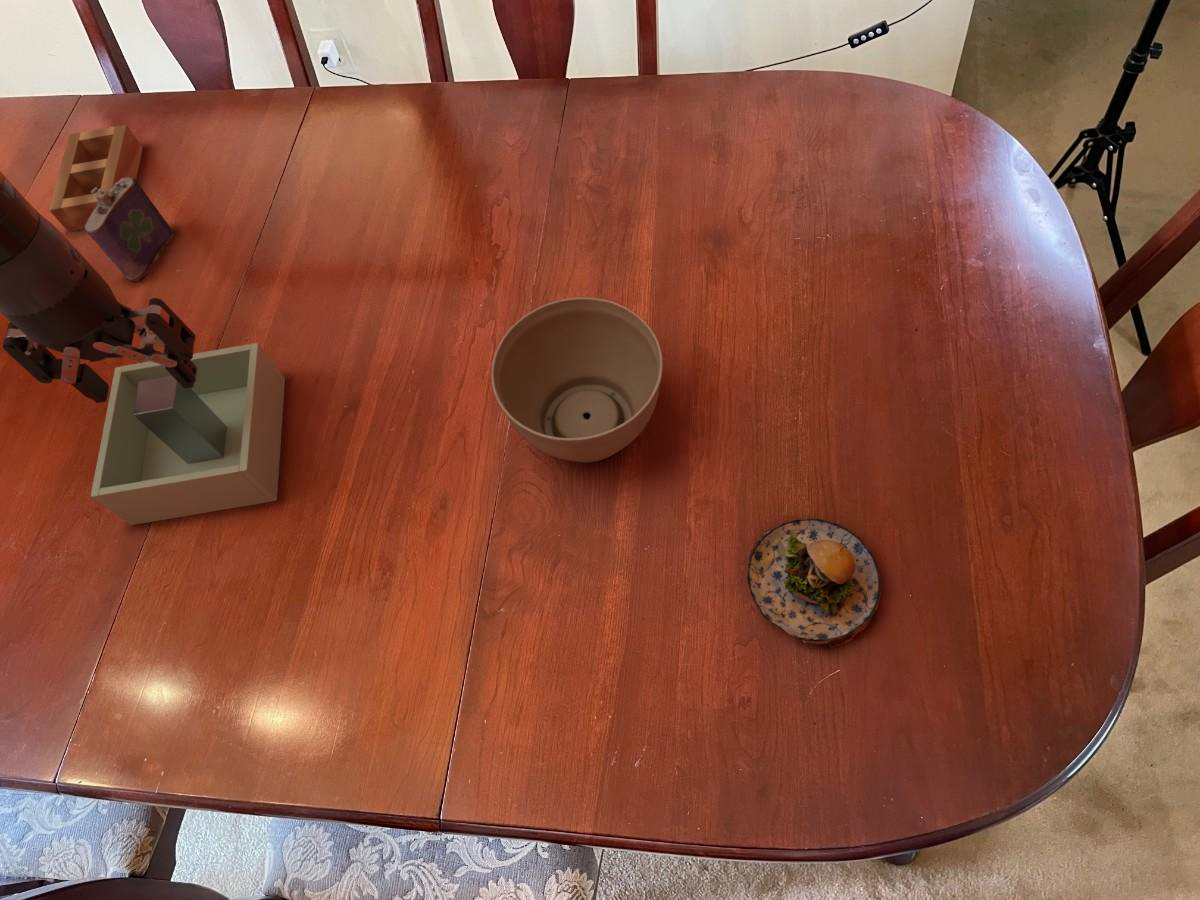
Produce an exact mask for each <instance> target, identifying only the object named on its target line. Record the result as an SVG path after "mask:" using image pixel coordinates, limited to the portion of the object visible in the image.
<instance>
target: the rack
mask: <svg viewBox="0 0 1200 900" xmlns="http://www.w3.org/2000/svg"><path fill="white" fill-rule="evenodd" d="M143 148H144V147H143V145H142V144H141V142H139V140H138V139H137V137H136V136H135V134H134V133H133V132H132V130H131V129H130V127H129V126H128V125H127V123H125V124H121V125H115V126H109V127H103V128H98V129H92V130H87V131H82V132H75V133H69V134H68V137H67V142H66V144H65V148H64V152H63V156H62V159H61V163H60V167H59V171H58V175H57V178H56V181H55V185H54V190H53V193H52V197H51V200H50V204H49V208H48V211H49V212H50V213H51V214H52V215H53V216H54V217H55V219H56V220H57V221H58V222H59V223H60V224H61V225H62V226H63V227H64V229H65V230H66V231H67V232H68V233H72V232H78V231H83V230H85V225H86V223H87V221H88V219H89V218H90V216H91V214H92V212H93V211H94V209H95V208H96V206H97V204H98V203H97V198H96V197H95V196H94V195H95V193H96V192H97V191H98V190H99V189H100V188H101V190H102V191H104V192H106V191H109V190H110V189H111V188H113V186H114V184H115V183H116V182H118V181H119V180H120V179H122V178H128V177H129V178H134V179H136V180H137V179H138V178H137V177H138V174H139V170H140V169H139V168H140V164H141V158H142V155H143V154H142V153H143ZM94 188H98V189H97V190H96V191H95V193H91V191H92V190H93V189H94ZM90 195H92V197H90Z"/></svg>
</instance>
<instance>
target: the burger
mask: <svg viewBox="0 0 1200 900" xmlns="http://www.w3.org/2000/svg"><path fill="white" fill-rule="evenodd" d="M746 577H747V578H746V579H747V583H748V588H749V592H750V595H751V596H752V598H753V601H754V602H755V604H756V606H757V608H758V610H759V612H760V613H761V615H762V616H763V617H764V619H766V620H767V621H769V622H770V623H772V624H773V625H775V626H776V627H777V628H779V629H781V630H782V631H783V632H785V633H786V634H787V635H789V636H790V637H793V638H796V639H799V640H800V641H802V642H803V643H804V644H805V643H806V644H810V645H826V644H827V645H829V647H830V648H833V649H834V648H836V647H839V646H841V645H843V644H847V643H850V642H851V641H852V640H853V638H854V637H855V636H856V635H857V634H858V633H860V632H861V631H864V630H865V629H866V628H867V627H868V626H869V625H870V624H871V622H872V620H873V619H874V616H875V615H876V614H877V613H876V612H877V610H878V607H879V604H880V599H881V593H882V578H881V573H880V567H879V565H878V562H877V561H876V559H875V556H874V554H873V551H872V550H871V548H869V547H868V546H867V544H866V543H865V541H863V539H862V538H860V537H859V536H858V535H856V534H855V533H854V532H852V531H851V530H850V529H848V528H846V527H844V526H842V525H840V524H838V523H836V522H834V521H829V520H826V519H821V518H813V517H811V518H810V517H809V518H799V519H798V518H797V519H793V520H789V521H786V522H783V523H781V524H779V525H777V526H775V527H773V528H772V529H770V530H768V531H767V532H766V533H765V534H764V535H763V536H762V537H761V538H760V539H759V540H757V541H756V543H755V544H754V546H753V548H752V549H751V551H750V553H749V556H748V559H747V574H746Z"/></svg>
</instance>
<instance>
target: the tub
mask: <svg viewBox="0 0 1200 900" xmlns="http://www.w3.org/2000/svg"><path fill="white" fill-rule="evenodd" d="M191 361H192V362H193V363H194V364H195V365H196V367H197V374H196V382H194V386H193V388H191V389H192V390H193V391H194V392H195V393H196V394H197V396H198V397H199V398H200V399H201V400H202V401H203V402H204V403H205V404H206V405H207V406H208V407H209V408H210V409H211V410H212V411H213V412H214V413H215V415H216V416H217V417H218V418H219V419H220V420H221V421H222V422H223V423H224V424H225V425H226V426H227V430H226V439H225V449H224V457H223V458H219V459H213V460H207V461H202V462H196V463H190V464H187V463H186V462H185V461H184V460H183V459H181V458H180V457H179V456H178V455H177V454H176V453H175V452H174V451H173V450H171V449H170V448H169V447H168V446H167V445H166V444H165V443H164V442H163V441H161V440H160V439H159V438H158V437H157V436H156V435H155V434H154V433H153V432H152V431H150V430H149V429H148V428H147V427H146V426H145V425H144V424H143V423H142V422H140V421H139V420H138V419H137V418H136V417H135V416H134V415H133V412H134V407H135V401H136V395H137V389H138V383H139V381H144V380H150V379H156V378H162V377H167V376H172V375H171V374H170V373H169V372H168V371H167V370H166V369H165V367H166V366H164V365H161V364H158V363H155V362H152V361H149V360H148V361H146V362H144V363H142V362H138V363H133V364H127V365H121V366H116V367H115V368H114V372H113V377H112V382H111V388H110V393H109V396H108V397H109V399H108V402H107V409H106V415H105V419H104V423H103V429H102V434H101V439H100V446H99V449H98V450H99V451H98V456H97V461H96V466H95V471H94V477H93V482H92V485H91V486H92V487H91V493H90V498H92V499H93V500H95V501H96V502H97V503H99V504H100V505H102V506H103V507H104V508H106V509H108V510H109V511H110V512H112V513H113V514H114V515H116V516H118V517H119V518H120V519H122V520H123V521H125V522H126V523H127V524H128V525H130V526H135V525H141V524H147V523H152V522H158V521H165V520H171V519H176V518H182V517H189V516H194V515H200V514H207V513H211V512H218V511H225V510H230V509H236V508H242V507H247V506H253V505H260V504H266V503H271V502H276V501H277V502H278V491H279V478H280V477H279V476H280V460H281V446H282V430H283V415H284V401H285V384H286V378H285V376H284V374H282V372H281V371H280V370H279V369H278V367H277V366H276V364H275V363H274V361H272V359H271V358H270V356H269V355H268V354H267V352H266V351H265V350H264V349H263V347H262V345H260V344H259V342H253V343H248V344H243V345H242V344H241V345H236V346H232V347H225V348H218V349H213V350H207V351H201V352H196V353H193V358H192V359H191Z"/></svg>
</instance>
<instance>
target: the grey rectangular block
mask: <svg viewBox="0 0 1200 900" xmlns="http://www.w3.org/2000/svg"><path fill="white" fill-rule="evenodd" d="M133 415H134V416H135V417H136V418H137V419H138V420H139V421H140V422H142V423H143V424H144V425H145V426H146V427H147V428H148V429H149V430H150V431H152V432H153V433H154V434H155V435H156V436H157V437H158V438H159V439H160V440H161V441H163V442H164V443H165V444H166V445H167V446H168V447H169V448H170V449H171V450H173V451H174V452H175V453H176V454H177V455H178V456H179V457H180V458H181V459H183V460H184V461H185V462H186V463H187V464H190V463H196V462H202V461H207V460H213V459H219V458H223V457H224V449H225V439H226V430H227V426H226V425H225V424H224V423H223V422H222V421H221V420H220V419H219V418H218V417H217V416H216V415H215V413H214V412H213V411H212V410H211V409H210V408H209V407H208V406H207V405H206V404H205V403H204V402H203V401H202V400H201V399H200V398H199V397H198V396H197V394H196V393H195V392H194V391H193V390H192V389H191V388H187V389H184V388H183V387H182V386H181V385H180V384H179V383H178V382H177V380H176V379H175V378H174V377H173V376H167V377H162V378H156V379H150V380H144V381H139V383H138V389H137V395H136V401H135V407H134V412H133Z"/></svg>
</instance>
